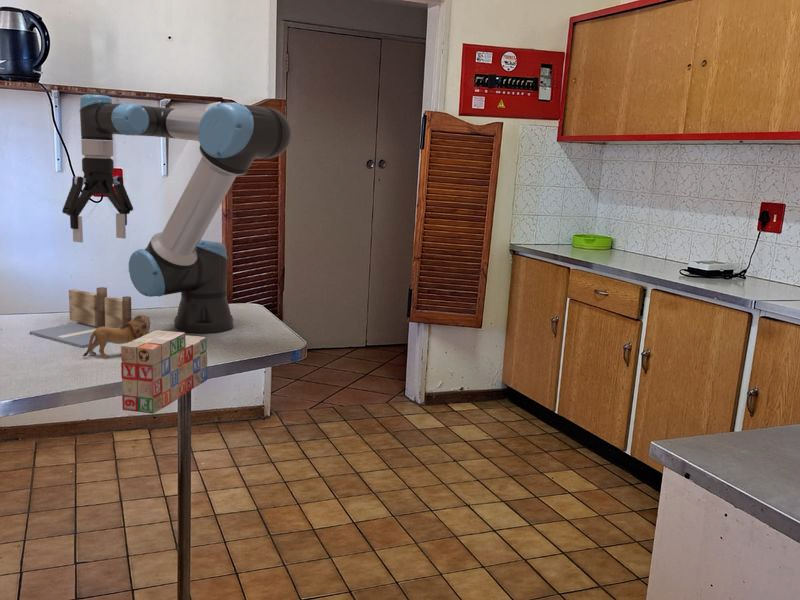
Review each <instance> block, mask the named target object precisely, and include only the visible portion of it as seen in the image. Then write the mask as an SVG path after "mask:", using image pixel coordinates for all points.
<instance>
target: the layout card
mask: <svg viewBox="0 0 800 600" xmlns="http://www.w3.org/2000/svg"><path fill="white" fill-rule="evenodd" d="M97 328H98V326H91V325H87V324H83V323H79V322H73V323H68V324H63V325H62V324H61V325H57V326H51V327H47V328H41V329H36V330H30V331H29V335H33V336H37V337H40V338H45V339H48V340H51V341H56V342H59V343H63V344H67V345H71V346H75V347H78V348H88V346H89V341H90V337H91V335H92V333H93V331H94V330H96V329H97ZM94 340H95V336H94V338H93V341H92V343H93V342H94ZM107 343H111V342H110V341H108V340H107Z"/></svg>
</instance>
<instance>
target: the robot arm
mask: <svg viewBox="0 0 800 600" xmlns="http://www.w3.org/2000/svg"><path fill="white" fill-rule="evenodd" d="M79 101H80V105H79V116H80V117H79V118H80V120H79V121H80V135H81V139H80V141H81V144H80V145H81V155H82V156H84V157H82V159H81V171H82V172H83V176H78V175H77V176H76V175H75V176H72V181H71V183H72V184H71V187H70V189H69V191H68V195H67V197H66V199H65V203H64V204H63V208H62V213H63V214H65V215H67V216H69V222H70V224H69V225H70V229H71V230H72V242H74V243H83V242H84V239H83V238H84V235H83V234H84V233H83V216H82V215H81V216H80V214H81V213H82V212H83V210H84V209H85V207H86V205H87V204H88V202H89V201H90V199H91V197H93V196H94V195H100V194H101V195H105V196H106V197H107V199H108V200H109V201H110V202H111V204H112V205H113V207H114V208H115V209H116V211H117V212H118V213H115V233H116V234H115V235H116V238H117V239H127V236H126V235H127V233H126V226H127V225H128V215H129V214H130V213H131V212H132V211H134V207H133V204H132V202H131V199H130V197H129V195H128V193H127V190H126V187H125V186H124V178H123V177H122V176H118V175H114V176H113V173H114V171H115V170H114V169H115V166H114V160H113V158H112V157H114V138H113V137H114V135H119V136H120V135H123V136H139V137H141V136H142V137H156V138H157V137H158V138H167V139H168V138H169V139H179V140H187V141H188V140H189V141H194V142H195V141H196V142H199V148H198V149H199V152H200V155H201V158H200V160H199V162H198V164H197V166H196V167H195V169H194V172H193V173H192V175H191V177H190V179H189V181H188V183H187V185H186V187H185V189H184V190H183V192H182V194H181V196H180V198H179V200H178V202H177V203H176V205H175V207H174V209H173V211H172V213H171V215H170V217H169V218H168V221H167V222H166V225H165V226H164V228H163V230H162V232H161V231H160V232H157V233H155V234H153V235H152V236H151V239H150V241H149V242H148V244H147V246H146V247H145V248H140V249H137V250H134V251H133V252H132V253H131V255H130V257H129V259H128V260H129V261H128V273H129V278H130V281H131V283H132V285H133V287H134V288H135V289H136V290H137V292H138V293H140V294H141V295H142V296H145V297H149V298H151V297H162V296H167V295H172V294H179V293H180V301H179V304H178V308H177V312H176V314H175V316H174V320H173V321H174V322H173V323H174V326H173V327H174V328H175V330H177V331H179V332H184V333H196V334H207V333H209V334H211V333H221V332H224V331H229V330H230V329H232V328H234V317H233V315H232V314H231V308H230V305H229V302H228V298H227V289H228V280H227V279H228V260H229V259H228V254H227V251H228V250H227V247H226V245H225V244H224V243H222V242H217V241H211V240H210V241H209V240H202V238H203V236H204V235H205V233H206V232H207V229H208V228H209V225H210V224H211V222H212V220H213V219H214V217H215V215H216V213H217V212H218V210H219V208H220V206H221V204H222V202H223V201H224V199H225V197H226V196H227V194H228V192H229V190H230V189H231V187H232V185H233V183H234V182H235V179H236V178H237V177H238V176H244V175H246V173H247V172H248V171H249V169H250V167H251V166H252V164H253V162H254V160H256V159H259V160H260V159H261V160H262V159H264V160H266V159H273V158H277V157H278V156H280V155H282V154H283V153H284V152H286V150H287V149H288V147H289V146H290V144H291V141H292V127H291V124H290V122H289V121H288V119H287V117H286V116H285V115H284V114H283V113H282V112H281V111H279V110H277V109H275V108H271V107H267V106H257V105H249V104H244V103H243V104H242V103H239V102H219V103H216V104H214V105H212V106H210V107H209V108H208V109H207V110H194V109H182V108H174V107H173V108H172V107H160V106H159V107H158V106H150V105H148V106H147V105H140V104H136V103H132V102H124V103H113V101H112V97H111V96H109V95H104V94H103V95H102V94H87V93H86V94H83V95H81V96H80V99H79ZM83 186H84V187H83Z"/></svg>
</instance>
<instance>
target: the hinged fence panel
mask: <svg viewBox="0 0 800 600" xmlns="http://www.w3.org/2000/svg"><path fill="white" fill-rule="evenodd" d="M68 304H69V307H68V308H69V310H68V311H69V321H70V322H71V321H72V322H74V323H78V322H79V323H83V324H87V325H91V326H98V321H97V293H94V292H90V291H84V290H80V289H76V288H75V289H68Z"/></svg>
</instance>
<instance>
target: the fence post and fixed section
mask: <svg viewBox="0 0 800 600" xmlns="http://www.w3.org/2000/svg"><path fill="white" fill-rule="evenodd" d="M96 294H97V321H98V328H99V327H109V328H121V327H123V326H124V325H125V324H126V323H128V322H130V321H131V320H133V318H132V315H133V314H132V296H129V295H128V296H122V298H118V297H113V296H108V287H103V286H102V287H101V286H100V287H96Z"/></svg>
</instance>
